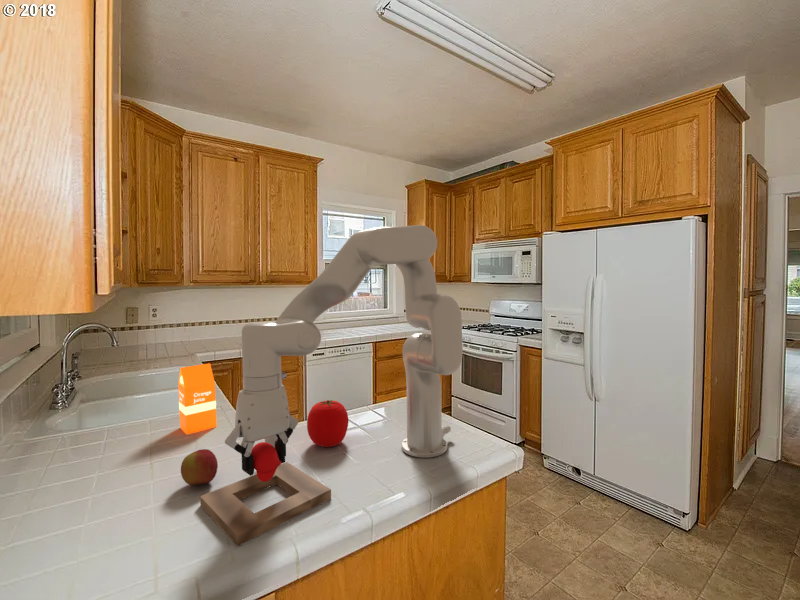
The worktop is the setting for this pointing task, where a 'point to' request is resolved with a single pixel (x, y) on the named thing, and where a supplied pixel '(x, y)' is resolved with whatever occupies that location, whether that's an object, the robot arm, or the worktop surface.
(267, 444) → the red rounded piece
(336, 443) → the tomato
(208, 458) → the apple
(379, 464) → the worktop surface
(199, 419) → the orange juice
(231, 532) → the walnut board
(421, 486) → the worktop surface
